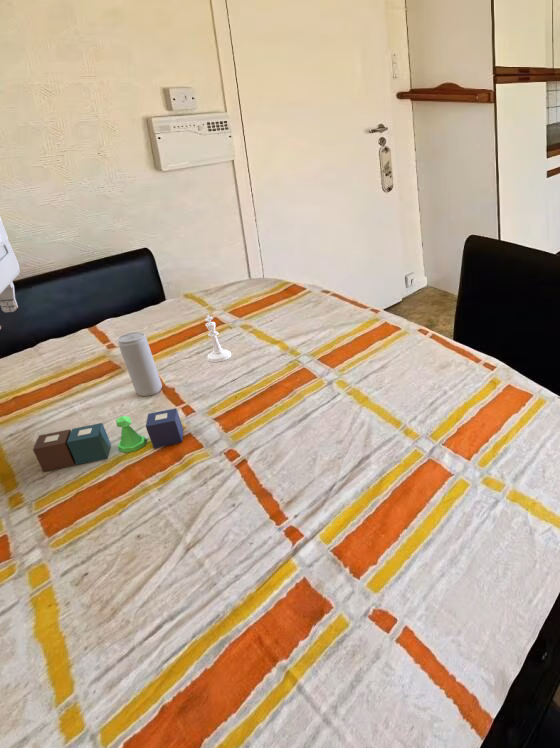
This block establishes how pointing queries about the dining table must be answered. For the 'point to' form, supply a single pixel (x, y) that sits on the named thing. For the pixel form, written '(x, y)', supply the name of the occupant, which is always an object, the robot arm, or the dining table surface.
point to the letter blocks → (100, 441)
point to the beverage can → (140, 363)
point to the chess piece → (215, 344)
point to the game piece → (129, 436)
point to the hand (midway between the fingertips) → (2, 321)
